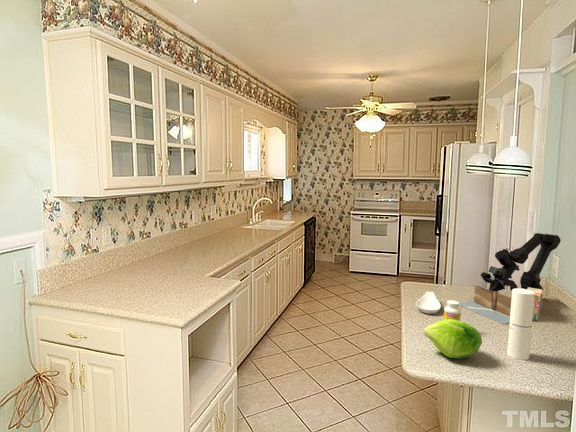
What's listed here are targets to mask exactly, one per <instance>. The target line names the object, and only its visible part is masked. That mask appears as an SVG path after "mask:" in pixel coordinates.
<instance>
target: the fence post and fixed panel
mask: <svg viewBox="0 0 576 432" xmlns="http://www.w3.org/2000/svg"><path fill="white" fill-rule="evenodd" d="M499 292H500V291H493V301H492V310H493V311H496V312H499V313H501V314H504V315H506V316H509V317H510V312H511V300H512V297H510V296H508V295H504V294H502V293H499Z"/></svg>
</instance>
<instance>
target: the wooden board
mask: <svg viewBox="0 0 576 432" xmlns="http://www.w3.org/2000/svg"><path fill="white" fill-rule="evenodd" d="M473 294H474V298H473V301H474V302H476V303H479V304H481V305H484V306H486V307H489V308H492V301H493V291H490V290H489V288H488V289H487V288H484V287H481V286H478V285H474V293H473Z"/></svg>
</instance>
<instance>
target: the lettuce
mask: <svg viewBox="0 0 576 432" xmlns="http://www.w3.org/2000/svg"><path fill="white" fill-rule="evenodd" d="M423 334H424V336H425V337H426V338H428V339H429V340H430V342H431V343H432V344H433V345H434V347H435V348H436V349H437V350H438V351H440V352H441V353H442V354H443V355H444V356H446V357H448V358H450V359H464V358H468V357H471V356H473V355H474V354H475V353H477V352H478V351H479V350H480V348H481V345H482V344H483V340H482V336H481V335H482V334H480V332H479V331H478V329H476V327H474V326H472V325H471V324H468V323H467V322H463V321H461V320H460V321H458V320H454V319H446V320H444V319H443V320H439V321H437V322H434V323H432V324H430V325H428V326H426V327H425V328H424V330H423Z"/></svg>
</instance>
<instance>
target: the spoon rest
mask: <svg viewBox="0 0 576 432" xmlns="http://www.w3.org/2000/svg"><path fill="white" fill-rule="evenodd" d="M415 306H416V308H417V309H418V310H419V311H420V312H422V313H424V314H429V315H431V314H436V313H439V311H440V310H441V308H442V306H441V303H440V301H439V300H438V299H437V297H436V295H435V293H434V291H428V290H427V291H426V292H424V293H423V295H422V296H420V298H418V300H417V301H416V302H415Z"/></svg>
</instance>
